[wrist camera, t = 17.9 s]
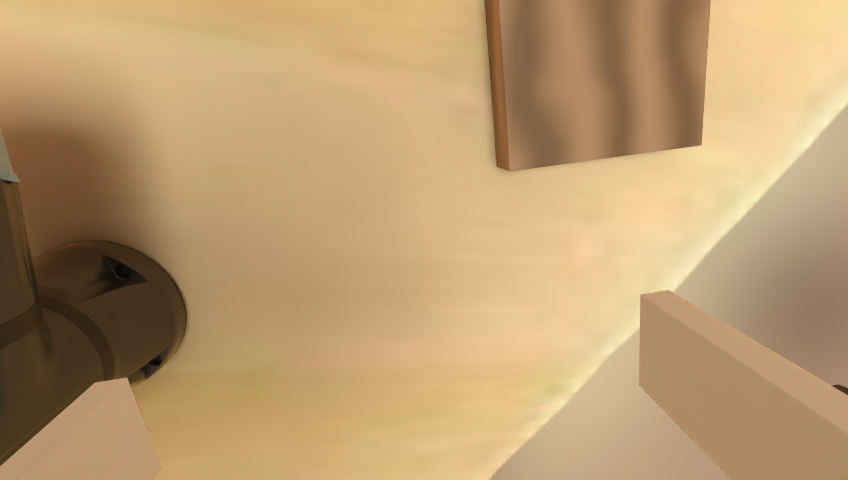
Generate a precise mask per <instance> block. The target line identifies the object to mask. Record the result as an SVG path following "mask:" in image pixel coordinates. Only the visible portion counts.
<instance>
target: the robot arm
mask: <svg viewBox="0 0 848 480" xmlns="http://www.w3.org/2000/svg"><path fill="white" fill-rule="evenodd" d="M17 184H20V179H19V177H18V176H17V175H16V174H14V171H13V168H12V165H11V162H10V158H9V155H8V151H7V147H6V144H5V140H4V136H3V133H2V130H1V128H0V480H153V479H154V477H155V476H156V474H157V473H158V471H159V470H160V468H161V464H160V462H159V459H158V457H157V454H156V451H155V449H154V446H153V444H152V441H151V438H150V436H149V433H148V431H147V428H146V425H145V423H144V420H143V418H142V415H141V412H140V410H139V407H138V405H137V402H136V399H135V397H134V394H133V392H132V389H131V387H133V386H135V385H137V384H139V383H141V382H143V381H145V380H146V379H148V378H149V377H151V376H152V375H154V374H155V373H156V372H157V371H158V370H160V369H161V368H162V366H163V365H164V364H165V363H166V362H167V361H168V360H169V359H170V358H171V357H172V356H173V354H174V353H175V352H176V350H177V349H178V347H179V345H180V343H181V341H182V338H183V335H184V331H185V322H186V320H185V310H184V305H183V301H182V299H181V296H180V294H179V292H178V290H177V288H176V286H175V285H174V283H173V282H172V280H171V279H170V278H169V276H168V275H167V274H166V273H165V272H164V271H163V270H162V269H161V268H160V267H159V266H158V265H157V264H155V263H154V262H153V261H152V260H150V259H149V258H147V257H146V256H144V255H142V254H141V253H139V252H137V251H135V250H132V249H130V248H127V247H125V246H122V245H118V244H114V243H110V242H103V241H81V242H74V243H70V244H66V245H64V246H61V247H58V248H55V249H53V250H50V251H47V252H45V253H43V254H41V255H39V256H37V257H35V258H33V259H32V258H31V253H30V248H29V243H28V238H27V232H26V227H25V222H24V217H23V212H22V206H21V201H20V196H19V191H18V185H17ZM639 359H640V360H639V385H640V386H641V387H642V388H643V389H644V391H645V392H646V393H647V394H648V395H649V396H650V397H651V398H652V399H653V400H654V401H655V402H656V403H657V404H658V405H659V406H660V407H661V408H662V409H663V410H664V411H665V412H666V413H667V414H668V415H669V416H670V417H671V418H672V419H673V420H674V421H675V423H676V424H677V425H678V426H679V427H680V428H681V429H682V430H683V431H684V432H685V433H686V434H687V435H688V436H689V437H690V438H691V439H692V440H693V441H694V442H695V443H696V444H697V445H698V446H699V447H700V448H701V449H702V450H703V451H704V453H706V454H707V455H708V457H709V458H710V459H711V460H712V461H713V462H714V463H715V464H716V465H717V466H718V467H719V468H720V469H721V470H722V471H723V472H724V473H725V474H726V475H727V476H728V477H729V478H730V479H731V480H848V388H846V387H844V386H841V385H833V386H831V385H829V384H828V383H826V382H824V381H823V380H821V379H819V378H817V377H815V376H814V375H812V374H811V373H809V372H807V371H805V370H804V369H802V368H800V367H799V366H797V365H795V364H794V363H792V362H790V361H788V360H787V359H785V358H783V357H782V356H780V355H778V354H777V353H775V352H773V351H771V350H770V349H768V348H766V347H765V346H763V345H761V344H759V343H758V342H756V341H754V340H753V339H751V338H749V337H748V336H746V335H744V334H742V333H741V332H739V331H737V330H735V329H734V328H732V327H730V326H729V325H727V324H725V323H724V322H722V321H720V320H719V319H717V318H715V317H714V316H712V315H710V314H708V313H706V312H705V311H703V310H701V309H700V308H698V307H696V306H695V305H693V304H691V303H690V302H688V301H686V300H684V299H683V298H681V297H679V296H678V295H676V294H674V293H673V292H671V291H669V290H667V291H661V292H654V293H648V294H642V295H641V300H640V358H639Z"/></svg>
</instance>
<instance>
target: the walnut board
mask: <svg viewBox="0 0 848 480" xmlns="http://www.w3.org/2000/svg"><path fill="white" fill-rule="evenodd" d="M710 1H711V0H485V11H486V24H487V38H488V52H489V65H490V79H491V93H492V107H493V120H494V134H495V148H496V161H497V167H500V168H503V169H505V170H508V171H516V170H523V169H530V168H538V167H545V166H552V165H560V164H567V163H574V162H582V161H589V160H596V159H604V158H611V157H618V156H626V155H633V154H640V153H648V152H655V151H662V150H670V149H677V148H684V147H692V146H699V145H701V144H702V128H703V112H704V96H705V81H706V65H707V49H708V33H709V17H710Z"/></svg>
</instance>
